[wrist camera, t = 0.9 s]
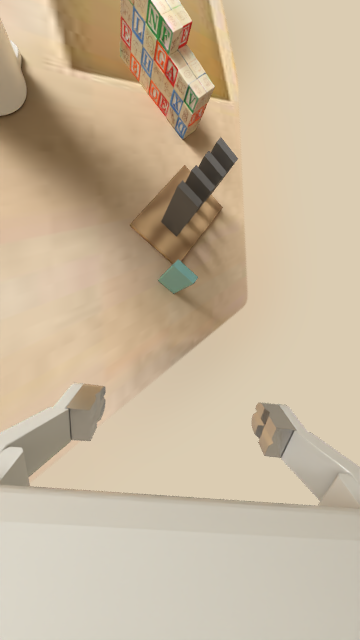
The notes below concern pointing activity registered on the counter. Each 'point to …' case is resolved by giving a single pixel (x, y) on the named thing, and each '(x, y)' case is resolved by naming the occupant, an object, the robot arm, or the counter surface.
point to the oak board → (160, 235)
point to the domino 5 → (199, 184)
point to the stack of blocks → (165, 60)
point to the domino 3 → (223, 156)
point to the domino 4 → (211, 170)
